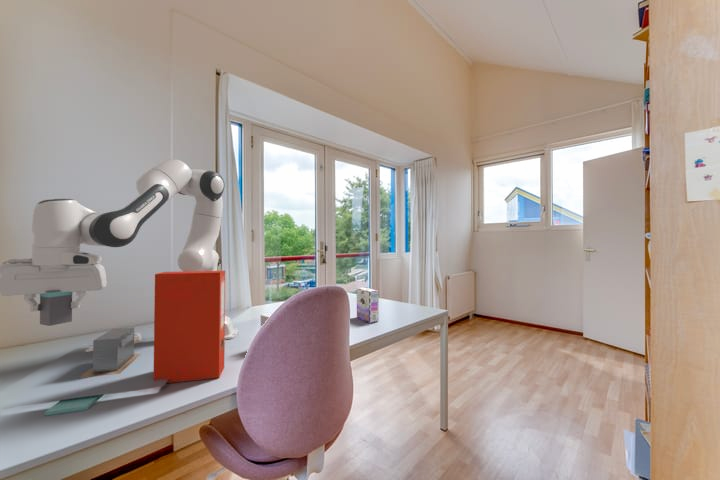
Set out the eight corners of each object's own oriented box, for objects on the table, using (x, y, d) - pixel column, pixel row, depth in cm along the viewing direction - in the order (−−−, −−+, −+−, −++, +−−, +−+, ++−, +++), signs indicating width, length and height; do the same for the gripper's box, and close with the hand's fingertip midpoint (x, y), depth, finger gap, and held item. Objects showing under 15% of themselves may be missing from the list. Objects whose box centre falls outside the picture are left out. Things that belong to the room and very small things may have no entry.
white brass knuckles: (110, 342, 117) (150, 340, 121) (78, 360, 100) (127, 356, 103) (110, 334, 117) (151, 332, 121) (78, 350, 100) (127, 347, 103)
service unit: (134, 356, 99) (135, 327, 99) (118, 370, 88) (118, 338, 88) (111, 358, 97) (111, 329, 97) (91, 373, 86) (92, 340, 86)
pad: (104, 393, 78) (104, 390, 78) (87, 409, 70) (87, 406, 70) (67, 398, 75) (67, 395, 75) (45, 415, 67) (45, 412, 67)
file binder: (164, 373, 90) (165, 271, 90) (224, 367, 94) (225, 270, 94) (153, 385, 82) (154, 274, 82) (218, 378, 86) (219, 272, 86)
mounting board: (141, 357, 101) (141, 353, 101) (120, 378, 86) (120, 373, 86) (106, 361, 98) (106, 357, 98) (78, 383, 83) (78, 378, 83)
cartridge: (72, 321, 78) (72, 288, 78) (49, 326, 74) (49, 291, 74) (62, 319, 80) (62, 287, 80) (39, 324, 75) (39, 290, 75)
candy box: (379, 321, 148) (379, 290, 148) (369, 323, 145) (369, 291, 145) (365, 316, 160) (365, 286, 160) (356, 317, 157) (356, 287, 157)
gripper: (-9, 259, 69) (-9, 316, 69) (101, 257, 79) (100, 307, 79) (8, 258, 75) (8, 311, 75) (108, 256, 84) (108, 303, 84)
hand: (56, 309), depth 77 cm, fingers closed on cartridge, 6 cm apart
